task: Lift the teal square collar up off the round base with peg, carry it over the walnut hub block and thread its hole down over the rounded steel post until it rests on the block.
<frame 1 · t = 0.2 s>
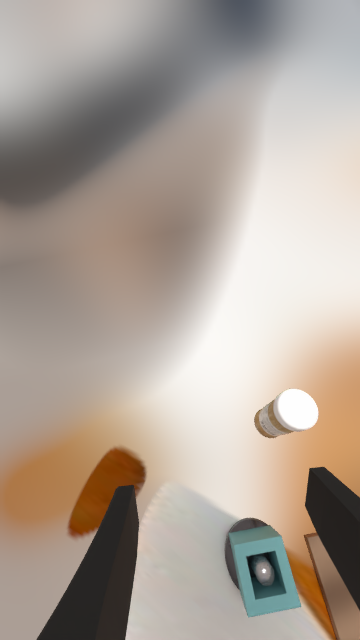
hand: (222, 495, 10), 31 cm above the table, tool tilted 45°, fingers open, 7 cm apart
sprinkles bottle: (267, 422, 39), on the table
round base with peg: (254, 555, 31), on the table
teal collar: (255, 557, 30), point 1 cm above the table, touching round base with peg
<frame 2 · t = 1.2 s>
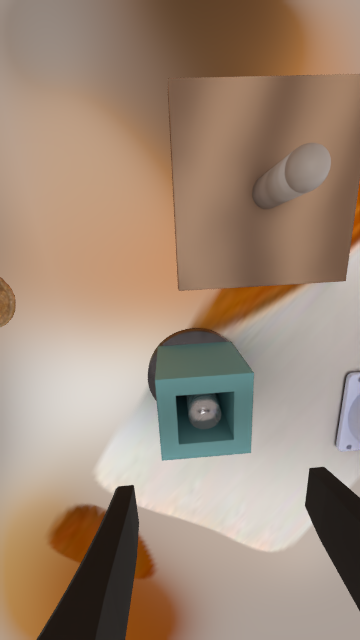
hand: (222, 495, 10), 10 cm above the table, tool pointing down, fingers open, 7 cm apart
round base with peg: (194, 371, 20), on the table
teal collar: (195, 376, 19), point 1 cm above the table, touching round base with peg
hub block: (260, 196, 16), on the table
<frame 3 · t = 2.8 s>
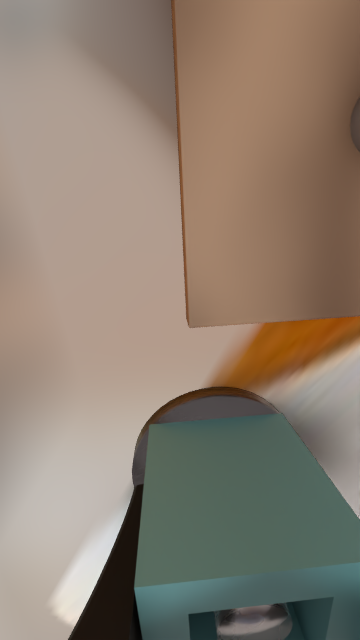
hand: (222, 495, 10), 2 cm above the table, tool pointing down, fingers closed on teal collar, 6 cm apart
round base with peg: (213, 456, 11), on the table
teal collar: (217, 471, 11), point 1 cm above the table, touching gripper, round base with peg
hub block: (352, 138, 8), on the table
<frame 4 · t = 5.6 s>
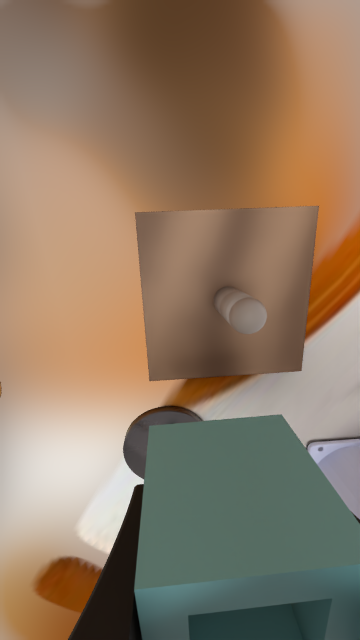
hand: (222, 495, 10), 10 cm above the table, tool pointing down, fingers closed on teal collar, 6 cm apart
round base with peg: (167, 442, 21), on the table
teal collar: (216, 472, 11), point 9 cm above the table, touching gripper
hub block: (223, 297, 18), on the table
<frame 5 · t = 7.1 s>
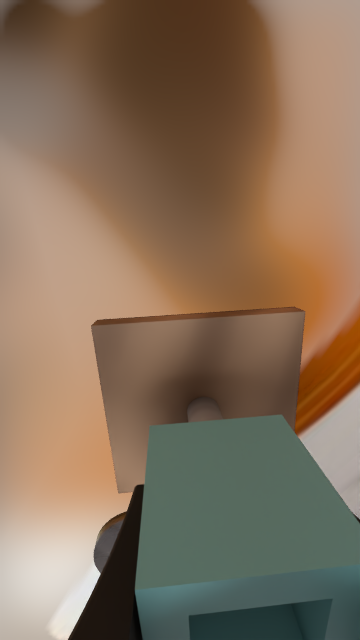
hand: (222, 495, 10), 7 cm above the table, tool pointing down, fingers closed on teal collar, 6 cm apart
round base with peg: (144, 543, 19), on the table
teal collar: (217, 472, 11), point 5 cm above the table, touching gripper
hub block: (200, 399, 16), on the table
when the fingers open (3 cm above the table, at t = 8.6 s): teal collar stays where it is, resting on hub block.
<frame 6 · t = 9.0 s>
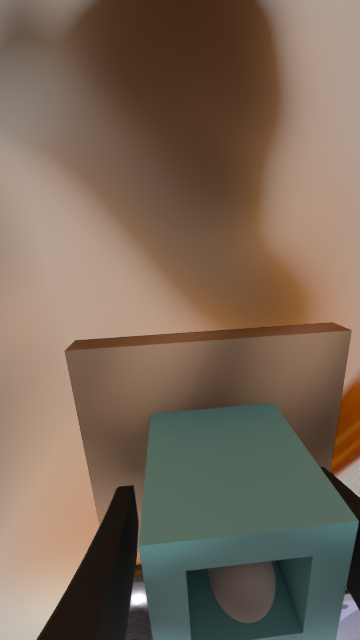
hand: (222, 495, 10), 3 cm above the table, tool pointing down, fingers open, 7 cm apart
round base with peg: (139, 604, 16), on the table
teal collar: (214, 457, 12), point 1 cm above the table, touching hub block
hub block: (209, 438, 13), on the table
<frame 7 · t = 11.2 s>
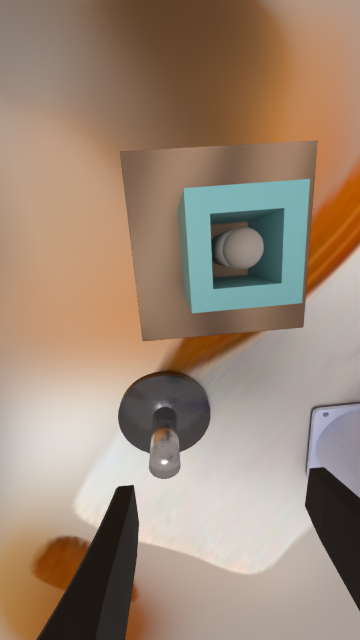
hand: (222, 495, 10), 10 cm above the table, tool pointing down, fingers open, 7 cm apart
round base with peg: (164, 411, 20), on the table
teal collar: (222, 250, 16), point 1 cm above the table, touching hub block
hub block: (218, 250, 17), on the table
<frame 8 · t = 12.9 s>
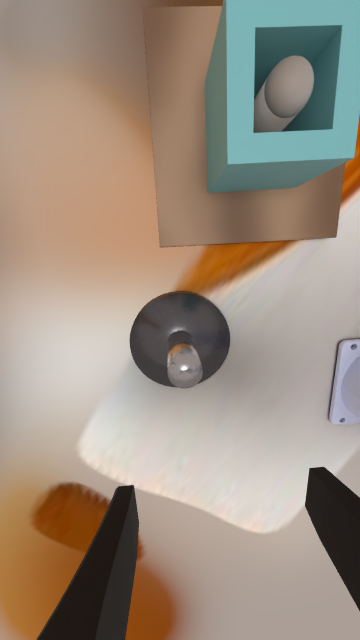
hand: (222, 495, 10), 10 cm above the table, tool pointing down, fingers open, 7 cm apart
round base with peg: (179, 339, 19), on the table
teal collar: (252, 138, 14), point 1 cm above the table, touching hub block
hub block: (245, 146, 15), on the table
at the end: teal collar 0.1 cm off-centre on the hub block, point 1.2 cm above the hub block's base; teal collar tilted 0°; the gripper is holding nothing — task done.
